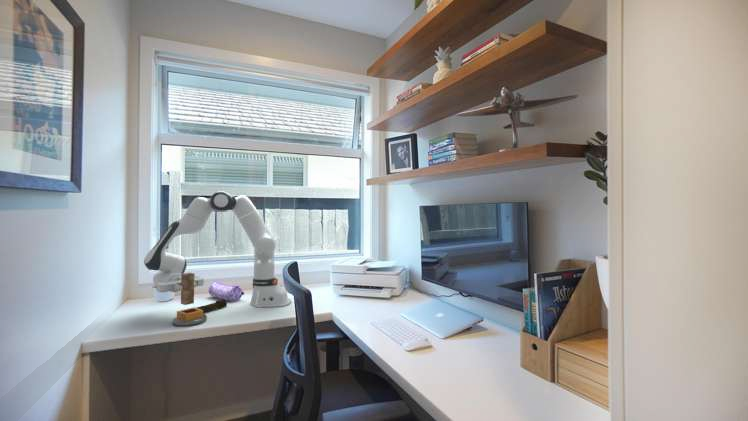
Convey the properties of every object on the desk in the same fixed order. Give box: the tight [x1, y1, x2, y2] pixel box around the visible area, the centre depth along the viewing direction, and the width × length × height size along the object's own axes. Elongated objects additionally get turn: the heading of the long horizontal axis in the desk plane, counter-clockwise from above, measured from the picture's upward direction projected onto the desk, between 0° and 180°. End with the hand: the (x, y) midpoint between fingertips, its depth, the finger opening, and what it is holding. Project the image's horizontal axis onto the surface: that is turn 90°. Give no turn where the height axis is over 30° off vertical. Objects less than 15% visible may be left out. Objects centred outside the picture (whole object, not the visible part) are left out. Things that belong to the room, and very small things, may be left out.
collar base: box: [171, 307, 208, 328], centre depth 152 cm, size 14×14×5 cm
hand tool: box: [196, 299, 228, 313], centre depth 169 cm, size 19×4×5 cm, turn 150°
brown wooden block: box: [180, 272, 196, 306], centre depth 153 cm, size 4×4×14 cm
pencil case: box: [208, 280, 245, 303], centre depth 193 cm, size 22×9×10 cm, turn 61°
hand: (188, 286), depth 153 cm, fingers closed on brown wooden block, 4 cm apart
